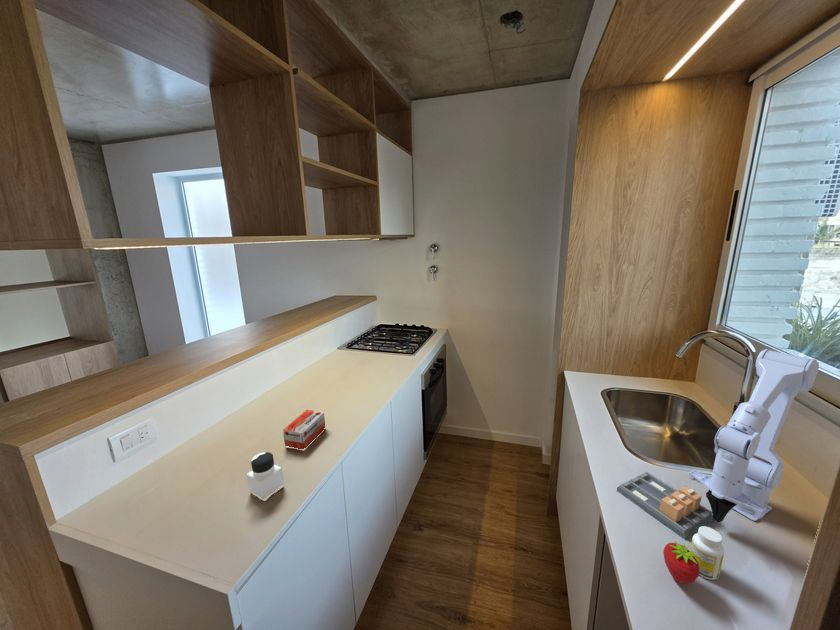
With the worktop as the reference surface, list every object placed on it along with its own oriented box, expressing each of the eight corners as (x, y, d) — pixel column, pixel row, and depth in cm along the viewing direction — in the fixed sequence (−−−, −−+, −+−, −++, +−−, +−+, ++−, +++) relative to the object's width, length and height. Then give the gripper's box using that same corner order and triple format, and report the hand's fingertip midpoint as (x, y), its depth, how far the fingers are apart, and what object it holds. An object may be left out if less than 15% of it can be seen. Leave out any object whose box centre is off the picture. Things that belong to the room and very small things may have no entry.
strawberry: (683, 566, 76) (690, 531, 74) (702, 601, 69) (711, 563, 67) (654, 561, 77) (660, 526, 75) (669, 595, 70) (677, 557, 68)
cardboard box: (682, 498, 93) (685, 484, 92) (699, 508, 90) (702, 494, 88) (676, 501, 92) (679, 487, 91) (693, 511, 89) (696, 497, 87)
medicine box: (304, 452, 120) (301, 433, 118) (284, 449, 122) (282, 430, 120) (326, 429, 134) (324, 411, 132) (308, 426, 136) (306, 409, 134)
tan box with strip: (673, 503, 92) (676, 489, 90) (690, 513, 88) (693, 499, 87) (668, 506, 90) (670, 492, 89) (684, 517, 87) (687, 502, 86)
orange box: (665, 508, 90) (667, 494, 89) (681, 519, 86) (684, 504, 85) (659, 511, 89) (661, 497, 88) (675, 523, 85) (678, 508, 84)
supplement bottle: (704, 556, 78) (711, 522, 76) (725, 580, 73) (734, 544, 71) (681, 558, 78) (688, 524, 76) (701, 581, 73) (709, 545, 70)
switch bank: (644, 476, 104) (645, 470, 103) (713, 520, 88) (715, 513, 87) (616, 490, 98) (617, 484, 98) (684, 539, 83) (686, 532, 82)
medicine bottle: (284, 487, 103) (279, 453, 101) (264, 503, 98) (258, 467, 95) (270, 479, 107) (265, 446, 104) (249, 494, 101) (243, 459, 98)
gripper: (685, 461, 86) (677, 504, 89) (759, 500, 73) (746, 549, 77) (701, 453, 89) (692, 495, 92) (774, 489, 76) (761, 537, 79)
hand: (718, 519), depth 85 cm, fingers closed
